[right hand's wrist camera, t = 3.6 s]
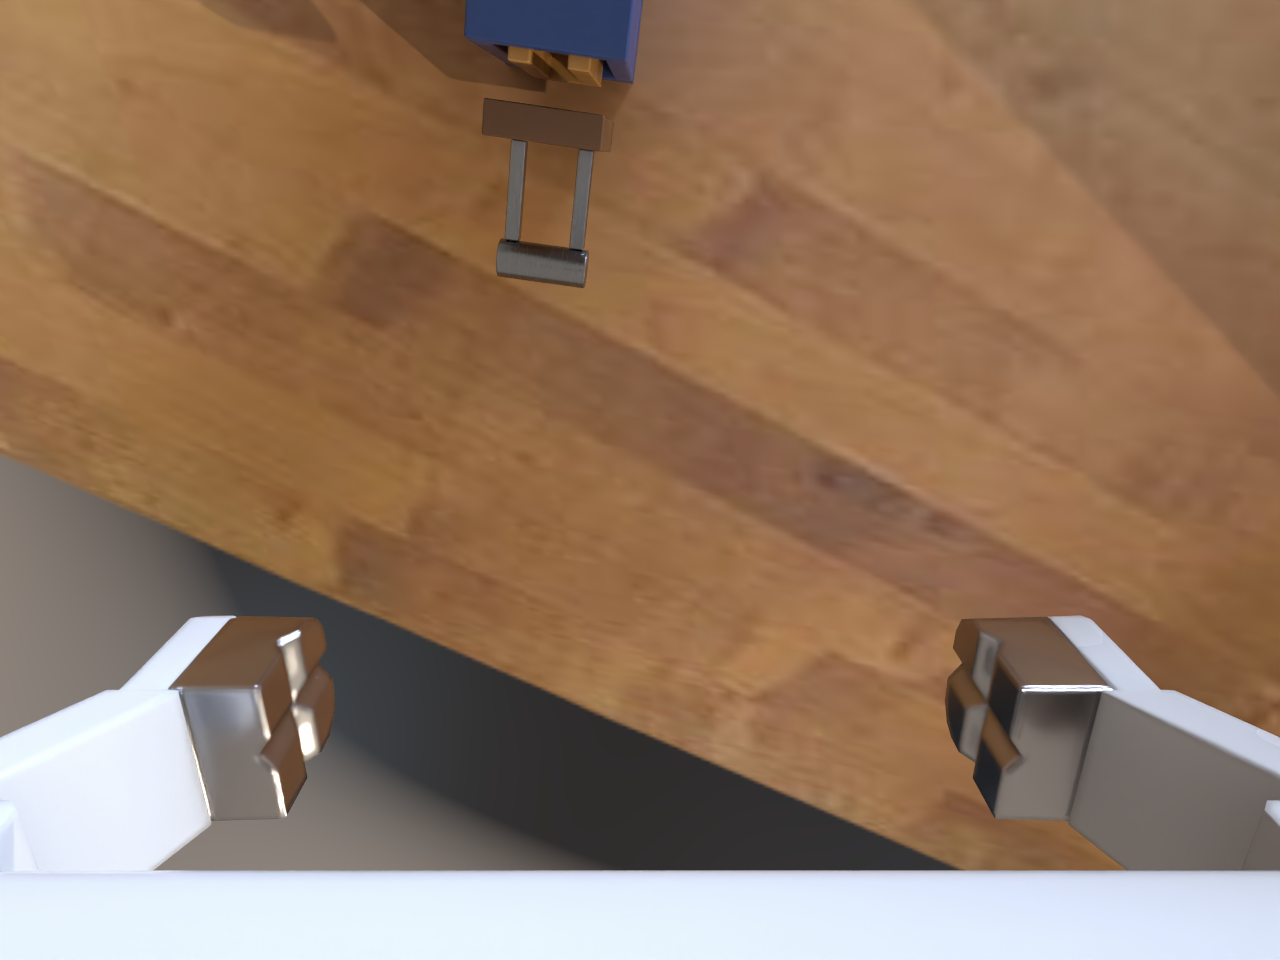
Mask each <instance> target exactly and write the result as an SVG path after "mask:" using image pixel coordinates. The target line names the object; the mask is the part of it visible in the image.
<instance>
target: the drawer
mask: <svg viewBox="0 0 1280 960" xmlns="http://www.w3.org/2000/svg"><path fill="white" fill-rule="evenodd" d="M507 59H508V60H509V61H510V62H512V63H513V64H515V65H516V66H518V67H519V68H521V69H522V70H524V71H525V72H527V73H528V74H530V75H531V76H533V77H534V78H540V79H547V80H554V81H561V82H567V83H574V84H581V85H588V86H595V87H601V82H602V72H603V63H604V60H599V59H592V58H585V57H579V56H572V55H565V54H558V53H552V52H545V51H538V50H531V49H525V48H518V47H511V46H508V55H507ZM612 133H613V123H612V122H611V121H610V120H609V119H608V118H606V117H605V116H604V115H599V114H592V113H585V112H578V111H572V110H565V109H558V108H551V107H544V106H537V105H530V104H524V103H517V102H510V101H503V100H496V99H489V98H484V106H483V123H482V134H483V135H489V136H496V137H503V138H510V139H512V140H511V153H510V168H509V183H508V197H507V212H506V226H505V239H500V241H499V245H498V250H497V258H496V272H497V275H498V276H499V277H506V278H514V279H521V280H528V281H535V282H543V283H550V284H557V285H564V286H572V287H579V288H584V287H585V284H586V278H587V270H588V259H589V252H588V250H583V249H584V247H585V237H586V228H587V218H588V208H589V199H590V189H591V180H592V170H593V161H594V151H601V152H610V151H611V142H612ZM528 141H531V142H538V143H545V144H552V145H558V146H565V147H572V148H579V152H578V163H577V173H576V183H575V193H574V203H573V214H572V224H571V234H570V244H569V248H567V247H560V246H552V245H545V244H538V243H531V242H524V241H519V240H520V239H521V228H522V215H523V202H524V189H525V176H526V163H527V149H528Z"/></svg>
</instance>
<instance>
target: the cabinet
mask: <svg viewBox="0 0 1280 960" xmlns="http://www.w3.org/2000/svg"><path fill="white" fill-rule="evenodd" d="M642 3H643V0H466V10H465V31H464V35H465V37H466V38H468V39H469V40H470V41H472V42H474V43H475V44H477V45H478V46H480V47H482V48H483V49H485V50H486V51H488V52H489V53H491V54H493V55H494V56H496V57H497V58H499V59H501V60H502V61H504V62H505V64H507V65H508V66H516V65H515V64H513V63H512V62H510V61H509V60H508V59H507V55H508V46H511V47H518V48H525V49H531V50H538V51H545V52H552V53H558V54H565V55H572V56H579V57H585V58H592V59H599V60H604V63H603V72H602V79H606V80H612V81H619V82H626V83H631V84H633V80H634V71H635V63H636V54H637V46H638V37H639V29H640V20H641V12H642Z"/></svg>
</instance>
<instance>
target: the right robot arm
mask: <svg viewBox="0 0 1280 960" xmlns="http://www.w3.org/2000/svg"><path fill="white" fill-rule="evenodd" d="M326 649H327V645H326V641H325V636H324V631H323V626H322V625H321V623H320V622H319V621H318V620H317V619H316V618H296V617H245V616H239V617H235V616H200V617H195V618H190V619H189V620H188V621H187V622H186V623H185V624H184V625H183V626H182V627H181V628H180V629H179V630H178V631H177V632H176V633H175V634H174V635H173V636H172V637H171V638H170V639H169V640H168V641H167V642H166V643H165V644H164V645H163V646H162V647H161V648H160V649H159V650H158V651H157V652H156V653H155V654H154V655H153V656H152V658H151V659H150V660H149V661H148V662H147V663H146V664H145V665H144V666H143V667H142V668H141V669H140V670H139V671H138V672H137V673H136V674H135V675H134V676H133V677H132V678H131V679H130V680H129V681H128V682H127V683H126V684H125V685H124V686H123V687H122V688H121V689H120V690H105V691H103V692H101V693H99V694H96V695H94V696H92V697H90V698H87V699H85V700H83V701H81V702H79V703H76V704H74V705H72V706H70V707H67V708H65V709H63V710H61V711H58V712H56V713H54V714H52V715H49V716H47V717H45V718H43V719H41V720H38V721H36V722H34V723H31V724H29V725H27V726H25V727H23V728H20V729H18V730H16V731H14V732H11V733H9V734H7V735H5V736H2V737H0V960H1280V737H1277V736H1275V735H1273V734H1271V733H1268V732H1266V731H1264V730H1262V729H1259V728H1257V727H1255V726H1253V725H1251V724H1248V723H1246V722H1244V721H1242V720H1239V719H1237V718H1235V717H1233V716H1230V715H1228V714H1226V713H1224V712H1221V711H1219V710H1217V709H1215V708H1213V707H1210V706H1208V705H1206V704H1204V703H1201V702H1199V701H1197V700H1195V699H1192V698H1190V697H1188V696H1186V695H1184V694H1181V693H1179V692H1177V691H1175V690H1160V689H1159V688H1158V687H1157V686H1156V685H1155V684H1154V683H1153V682H1152V681H1151V680H1150V679H1149V678H1148V677H1147V676H1146V675H1145V674H1144V673H1143V672H1142V671H1141V670H1140V669H1139V668H1138V667H1137V666H1136V664H1135V663H1134V662H1133V661H1132V660H1131V659H1130V658H1129V657H1128V656H1127V655H1126V654H1125V653H1124V652H1123V651H1122V650H1121V649H1120V648H1119V647H1118V646H1117V645H1116V644H1115V643H1114V642H1113V641H1112V640H1111V639H1110V638H1109V637H1108V636H1107V635H1106V634H1105V633H1104V632H1103V631H1102V630H1101V629H1100V628H1099V627H1098V626H1097V625H1096V624H1095V623H1094V622H1093V621H1092V620H1091V619H1089V618H1086V617H1083V616H1081V615H1080V616H1055V617H1021V618H981V619H961V622H960V624H959V626H958V628H957V630H956V634H955V640H954V645H953V649H954V650H955V652H956V654H957V655H958V657H959V658H960V660H961V662H962V664H961V665H960V666H959V667H958V668H957V669H956V670H955V671H954V672H953V673H952V674H951V675H950V676H949V677H948V681H947V689H946V696H945V706H946V717H947V724H948V727H949V731H950V734H951V737H952V739H953V741H954V743H955V745H956V747H957V749H958V751H959V752H960V753H961V754H963V755H964V756H966V757H967V758H969V759H970V760H972V761H973V762H975V768H974V774H973V779H974V781H975V783H976V785H977V786H978V788H979V790H980V792H981V794H982V796H983V797H984V799H985V801H986V803H987V805H988V807H989V808H990V810H991V812H992V814H993V816H994V818H995V819H1022V820H1059V821H1069V822H1068V824H1069V825H1070V826H1071V827H1073V828H1074V829H1075V830H1076V831H1078V832H1079V833H1080V834H1081V835H1083V836H1084V837H1085V838H1087V839H1088V840H1089V841H1090V842H1092V843H1093V844H1094V845H1095V846H1097V847H1098V848H1099V849H1101V850H1102V851H1103V852H1104V853H1106V854H1107V855H1108V856H1109V857H1111V858H1112V859H1113V860H1114V861H1116V862H1117V863H1118V864H1120V865H1121V866H1122V867H1123V868H1125V869H1126V870H1127V871H153V870H154V869H156V868H157V867H158V866H159V865H161V864H162V863H163V862H164V861H166V860H167V859H168V858H170V857H171V856H172V855H173V854H175V853H176V852H177V851H178V850H180V849H181V848H182V847H184V846H185V845H186V844H187V843H189V842H190V841H191V840H192V839H194V838H195V837H196V836H198V835H199V834H200V833H201V832H203V831H204V830H205V829H206V828H208V827H209V826H210V825H211V821H220V820H256V819H285V818H286V816H287V814H288V812H289V810H290V809H291V807H292V805H293V803H294V801H295V799H296V798H297V796H298V794H299V792H300V790H301V788H302V786H303V785H304V783H305V781H306V779H307V774H306V768H305V762H307V761H308V760H310V759H311V758H313V757H314V756H316V755H317V754H319V753H320V752H321V751H322V749H323V747H324V745H325V743H326V741H327V739H328V737H329V735H330V730H331V726H332V721H333V717H334V705H335V694H334V687H333V681H332V677H331V676H330V675H329V674H328V673H327V672H326V671H325V670H324V669H323V668H322V667H321V666H320V665H319V664H318V662H319V660H320V658H321V657H322V655H323V653H324V652H325V650H326Z"/></svg>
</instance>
